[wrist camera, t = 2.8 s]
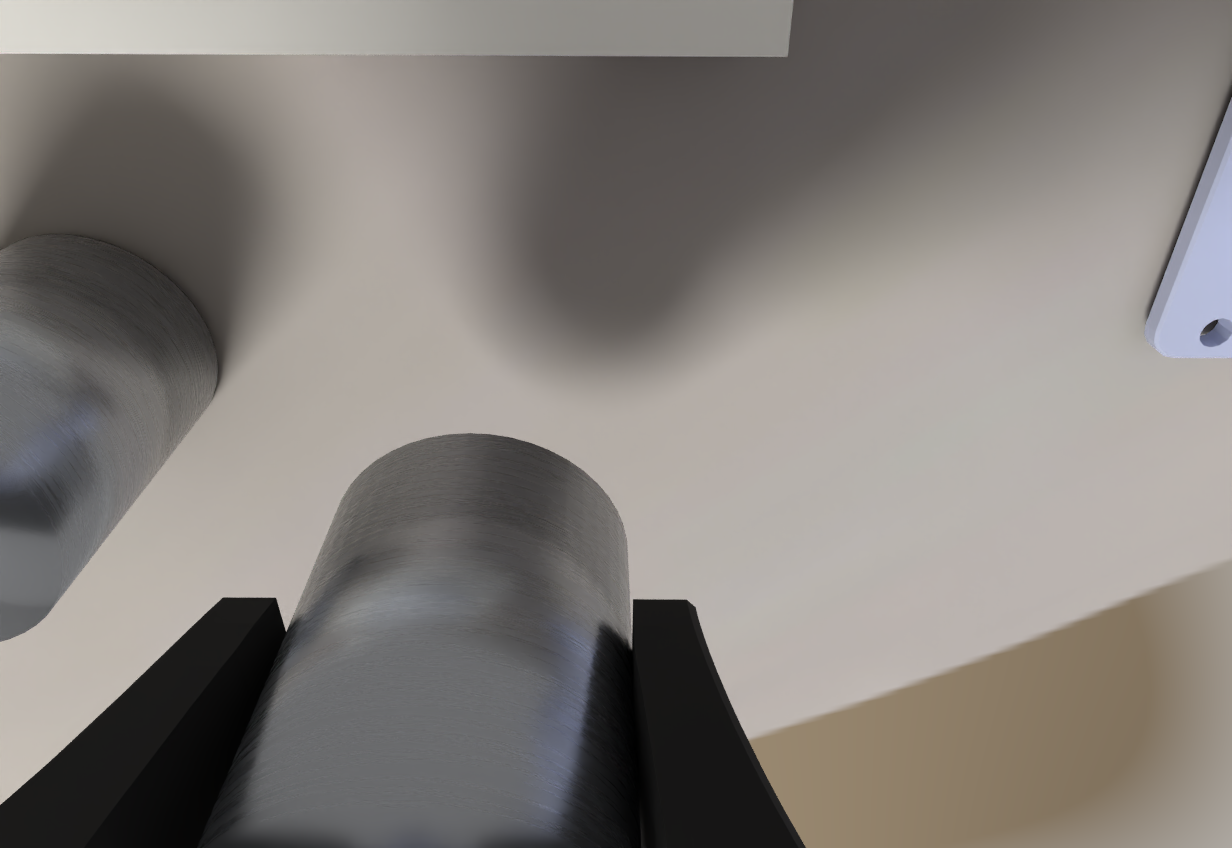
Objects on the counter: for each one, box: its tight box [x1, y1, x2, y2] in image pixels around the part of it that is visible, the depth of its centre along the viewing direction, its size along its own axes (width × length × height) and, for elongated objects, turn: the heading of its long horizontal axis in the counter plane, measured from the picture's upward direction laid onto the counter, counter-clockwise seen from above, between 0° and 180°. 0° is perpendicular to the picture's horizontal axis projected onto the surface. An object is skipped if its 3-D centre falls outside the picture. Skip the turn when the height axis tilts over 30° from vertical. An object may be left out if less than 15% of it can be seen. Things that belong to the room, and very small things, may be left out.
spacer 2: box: [197, 433, 641, 848], centre depth 9 cm, size 4×4×5 cm
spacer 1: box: [0, 234, 218, 642], centre depth 12 cm, size 4×4×5 cm
